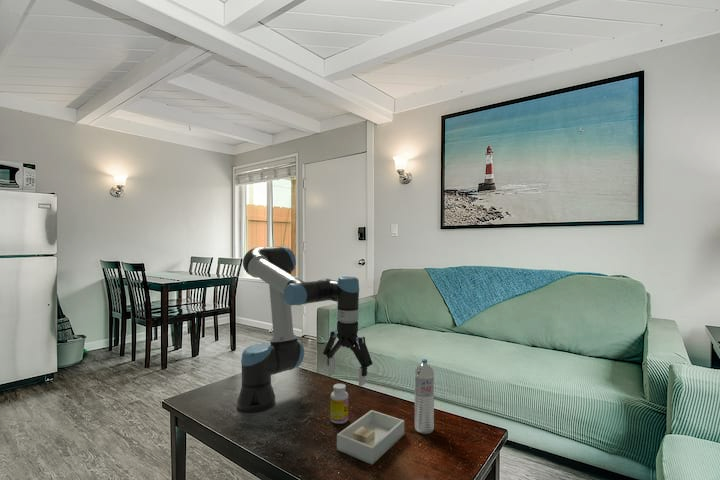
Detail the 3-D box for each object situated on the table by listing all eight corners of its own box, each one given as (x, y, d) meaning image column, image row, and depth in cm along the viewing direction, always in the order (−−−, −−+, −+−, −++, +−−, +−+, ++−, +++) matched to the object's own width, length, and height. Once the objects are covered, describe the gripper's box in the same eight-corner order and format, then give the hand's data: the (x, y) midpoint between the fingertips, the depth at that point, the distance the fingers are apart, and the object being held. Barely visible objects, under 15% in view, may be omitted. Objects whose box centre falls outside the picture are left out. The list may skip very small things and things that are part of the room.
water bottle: (435, 426, 134) (435, 358, 134) (432, 436, 128) (432, 364, 128) (416, 423, 137) (416, 355, 136) (412, 432, 130) (413, 361, 130)
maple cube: (353, 448, 119) (353, 432, 119) (362, 441, 123) (362, 426, 123) (366, 453, 116) (366, 437, 116) (374, 446, 120) (374, 430, 120)
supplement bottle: (345, 425, 135) (345, 390, 135) (328, 423, 136) (328, 388, 136) (349, 416, 141) (350, 383, 141) (333, 414, 143) (333, 381, 143)
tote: (336, 449, 119) (336, 434, 119) (371, 423, 136) (371, 409, 136) (372, 464, 112) (372, 448, 112) (404, 434, 129) (404, 420, 129)
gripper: (314, 317, 135) (313, 374, 136) (371, 328, 121) (369, 392, 122) (327, 313, 142) (326, 368, 142) (383, 324, 127) (381, 385, 128)
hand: (346, 379), depth 132 cm, fingers open, 13 cm apart
